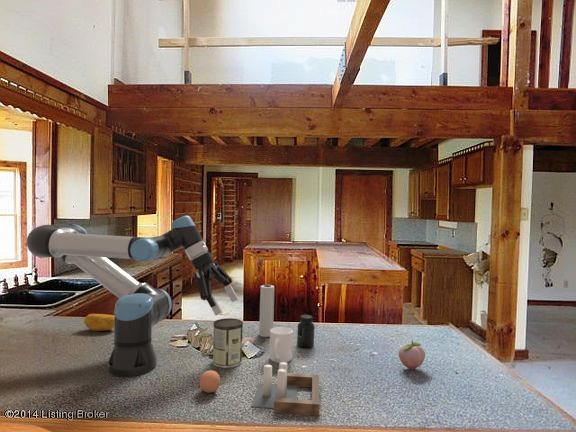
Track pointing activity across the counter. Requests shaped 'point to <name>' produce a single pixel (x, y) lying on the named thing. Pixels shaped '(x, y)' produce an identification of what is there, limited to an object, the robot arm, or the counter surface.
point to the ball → (209, 381)
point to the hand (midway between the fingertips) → (227, 307)
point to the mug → (281, 344)
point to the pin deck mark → (268, 402)
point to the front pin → (267, 380)
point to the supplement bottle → (305, 332)
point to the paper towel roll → (266, 310)
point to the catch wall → (298, 404)
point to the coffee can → (227, 342)
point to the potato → (99, 322)
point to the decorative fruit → (411, 355)
